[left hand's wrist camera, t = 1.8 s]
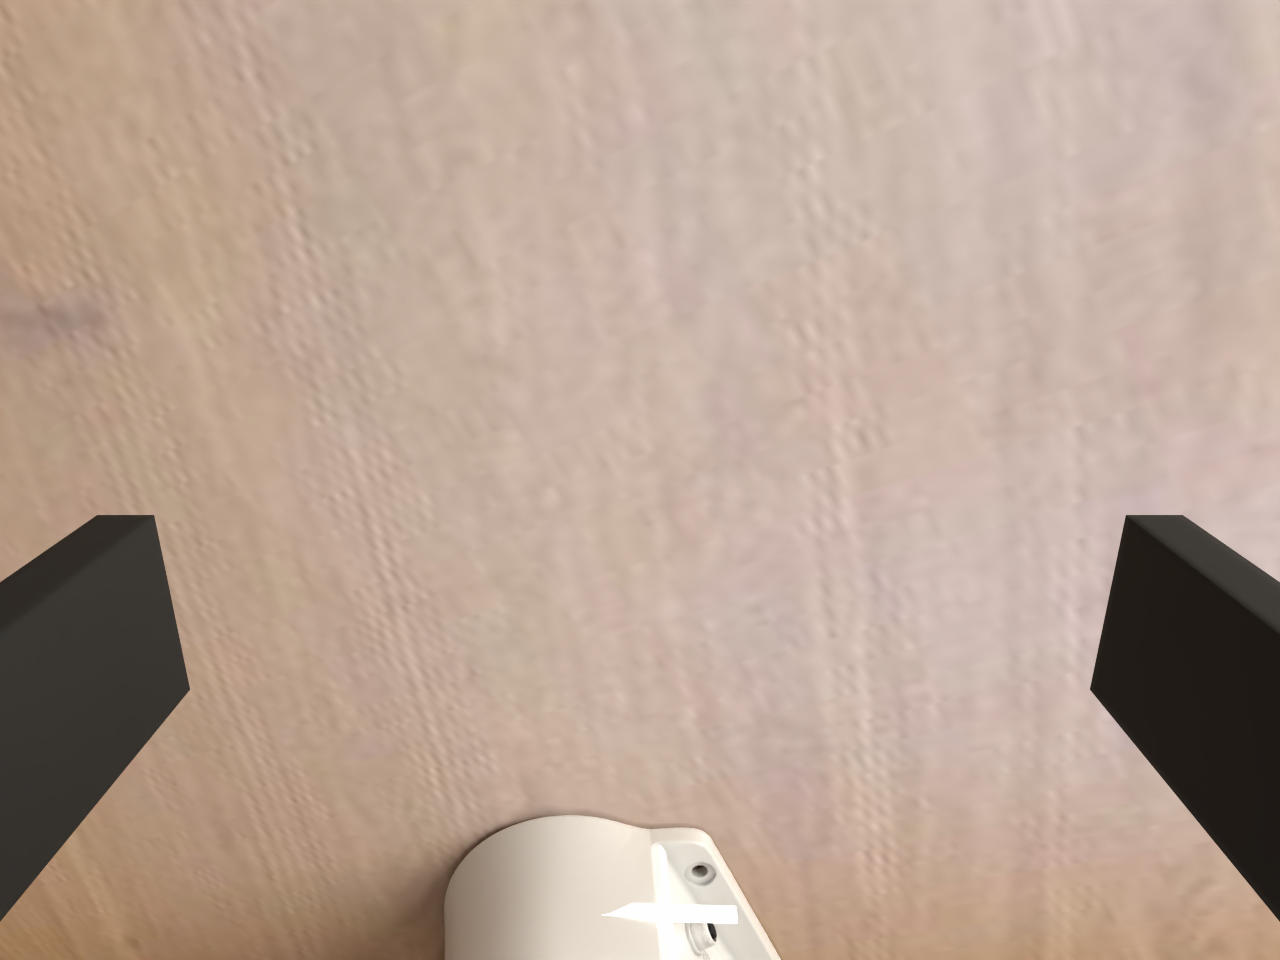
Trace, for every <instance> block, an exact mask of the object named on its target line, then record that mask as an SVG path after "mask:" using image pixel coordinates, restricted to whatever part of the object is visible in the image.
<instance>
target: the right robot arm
mask: <svg viewBox="0 0 1280 960" xmlns="http://www.w3.org/2000/svg"><path fill="white" fill-rule="evenodd" d="M698 865H702V866H703V867H700V868H697V867H695V866H698ZM444 924H445V958H444V960H781V959H780V957H779V955H778V954H777V952H776V950H775V948H774V947H773V945H772V943H771V941H770V940H769V938H768V936H767V934H766V933H765V931H764V929H763V927H762V926H761V924H760V922H759V921H758V919H757V917H756V915H755V914H754V912H753V910H752V908H751V907H750V905H749V903H748V901H747V900H746V898H745V896H744V894H743V893H742V891H741V889H740V888H739V886H738V884H737V882H736V881H735V879H734V877H733V875H732V874H731V872H730V870H729V868H728V867H727V865H726V863H725V861H724V860H723V858H722V856H721V855H720V853H719V851H718V849H717V848H716V846H715V844H714V842H713V841H712V839H711V838H710V836H709V835H708V834H706V833H705V832H704V831H701V830H699V829H695V828H687V827H673V828H656V829H646V828H640V827H635V826H631V825H627V824H624V823H620V822H617V821H613V820H609V819H604V818H599V817H593V816H583V815H558V816H548V817H541V818H536V819H532V820H528V821H524V822H521V823H518V824H515V825H512V826H510V827H507V828H505V829H503V830H501V831H499V832H497V833H495V834H493V835H492V836H490V837H488V838H487V839H485V840H484V841H482V842H481V843H480V844H479V845H477V846H476V847H475V848H474V849H473V850H472V851H471V852H469V853H468V855H467V856H466V857H465V858H464V859H463V860H462V862H461V863H460V864H459V865H458V867H457V869H456V870H455V872H454V874H453V876H452V877H451V880H450V882H449V885H448V888H447V891H446V895H445V901H444Z"/></svg>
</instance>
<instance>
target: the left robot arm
mask: <svg viewBox="0 0 1280 960" xmlns="http://www.w3.org/2000/svg"><path fill="white" fill-rule="evenodd" d="M189 690H190V687H189V683H188V678H187V673H186V668H185V663H184V658H183V653H182V649H181V644H180V639H179V634H178V629H177V624H176V620H175V615H174V610H173V605H172V600H171V595H170V590H169V586H168V581H167V576H166V571H165V566H164V561H163V557H162V552H161V547H160V542H159V537H158V532H157V528H156V523H155V518H154V515H97V516H95V517H94V518H93V519H91V520H90V521H88V522H87V523H85V524H84V525H82V526H81V527H80V528H78V529H77V530H75V531H74V532H72V533H71V534H69V535H68V536H67V537H65V538H64V539H62V540H61V541H59V542H58V543H56V544H55V545H54V546H52V547H51V548H49V549H48V550H46V551H45V552H43V553H42V554H41V555H39V556H38V557H36V558H35V559H33V560H32V561H30V562H29V563H28V564H26V565H25V566H23V567H22V568H20V569H19V570H17V571H16V572H15V573H13V574H12V575H10V576H9V577H7V578H6V579H4V580H3V581H2V582H0V921H1V920H2V919H3V917H4V916H5V915H6V914H7V913H8V911H9V910H10V909H11V908H12V906H13V905H14V904H15V903H16V902H17V900H18V899H19V898H20V897H21V895H22V894H23V893H24V892H25V891H26V889H27V888H28V887H29V886H30V884H31V883H32V882H33V881H34V880H35V878H36V877H37V876H38V875H39V873H40V872H41V871H42V870H43V869H44V867H45V866H46V865H47V864H48V862H49V861H50V860H51V859H52V858H53V856H54V855H55V854H56V853H57V851H58V850H59V849H60V848H61V847H62V845H63V844H64V843H65V842H66V840H67V839H68V838H69V837H70V836H71V834H72V833H73V832H74V831H75V829H76V828H77V827H78V826H79V825H80V823H81V822H82V821H83V820H84V818H85V817H86V816H87V815H88V814H89V812H90V811H91V810H92V809H93V807H94V806H95V805H96V804H97V803H98V801H99V800H100V799H101V798H102V796H103V795H104V794H105V793H106V792H107V790H108V789H109V788H110V787H111V785H112V784H113V783H114V782H115V781H116V779H117V778H118V777H119V776H120V774H121V773H122V772H123V771H124V770H125V768H126V767H127V766H128V765H129V763H130V762H131V761H132V760H133V759H134V757H135V756H136V755H137V754H138V752H139V751H140V750H141V749H142V748H143V746H144V745H145V744H146V743H147V741H148V740H149V739H150V738H151V736H152V735H153V734H154V733H155V732H156V730H157V729H158V728H159V727H160V725H161V724H162V723H163V722H164V721H165V719H166V718H167V717H168V716H169V714H170V713H171V712H172V711H173V710H174V708H175V707H176V706H177V705H178V703H179V702H180V701H181V700H182V699H183V697H184V696H185V695H186V694H187V692H188V691H189ZM1090 690H1091V691H1092V692H1093V694H1094V695H1095V696H1096V697H1097V699H1098V700H1099V701H1100V702H1101V703H1102V705H1103V706H1104V707H1105V708H1106V710H1107V711H1108V712H1109V713H1110V714H1111V716H1112V717H1113V718H1114V719H1115V721H1116V722H1117V723H1118V724H1119V725H1120V727H1121V728H1122V729H1123V730H1124V732H1125V733H1126V734H1127V735H1128V737H1129V738H1130V739H1131V740H1132V741H1133V743H1134V744H1135V745H1136V746H1137V748H1138V749H1139V750H1140V751H1141V752H1142V754H1143V755H1144V756H1145V757H1146V759H1147V760H1148V761H1149V762H1150V763H1151V765H1152V766H1153V767H1154V768H1155V770H1156V771H1157V772H1158V773H1159V774H1160V776H1161V777H1162V778H1163V779H1164V781H1165V782H1166V783H1167V784H1168V785H1169V787H1170V788H1171V789H1172V790H1173V792H1174V793H1175V794H1176V795H1177V796H1178V798H1179V799H1180V800H1181V801H1182V803H1183V804H1184V805H1185V806H1186V807H1187V809H1188V810H1189V811H1190V812H1191V814H1192V815H1193V816H1194V817H1195V818H1196V820H1197V821H1198V822H1199V823H1200V825H1201V826H1202V827H1203V828H1204V829H1205V831H1206V832H1207V833H1208V834H1209V836H1210V837H1211V838H1212V839H1213V840H1214V842H1215V843H1216V844H1217V845H1218V847H1219V848H1220V849H1221V850H1222V851H1223V853H1224V854H1225V855H1226V856H1227V858H1228V859H1229V860H1230V861H1231V862H1232V864H1233V865H1234V866H1235V867H1236V869H1237V870H1238V871H1239V872H1240V873H1241V875H1242V876H1243V877H1244V878H1245V880H1246V881H1247V882H1248V883H1249V884H1250V886H1251V887H1252V888H1253V889H1254V891H1255V892H1256V893H1257V894H1258V895H1259V897H1260V898H1261V899H1262V900H1263V902H1264V903H1265V904H1266V905H1267V906H1268V908H1269V909H1270V910H1271V911H1272V913H1273V914H1274V915H1275V916H1276V917H1277V919H1278V920H1279V921H1280V582H1278V581H1277V580H1276V579H1274V578H1273V577H1271V576H1270V575H1268V574H1267V573H1265V572H1264V571H1263V570H1261V569H1260V568H1258V567H1257V566H1255V565H1254V564H1252V563H1251V562H1250V561H1248V560H1247V559H1245V558H1244V557H1242V556H1241V555H1239V554H1238V553H1237V552H1235V551H1234V550H1232V549H1231V548H1229V547H1228V546H1226V545H1225V544H1224V543H1222V542H1221V541H1219V540H1218V539H1216V538H1215V537H1213V536H1212V535H1211V534H1209V533H1208V532H1206V531H1205V530H1203V529H1202V528H1200V527H1199V526H1198V525H1196V524H1195V523H1193V522H1192V521H1190V520H1189V519H1187V518H1186V517H1185V516H1183V515H1126V518H1125V523H1124V528H1123V532H1122V537H1121V542H1120V547H1119V552H1118V557H1117V561H1116V566H1115V571H1114V576H1113V581H1112V586H1111V590H1110V595H1109V600H1108V605H1107V610H1106V615H1105V620H1104V624H1103V629H1102V634H1101V639H1100V644H1099V649H1098V653H1097V658H1096V663H1095V668H1094V673H1093V678H1092V683H1091V687H1090Z"/></svg>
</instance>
